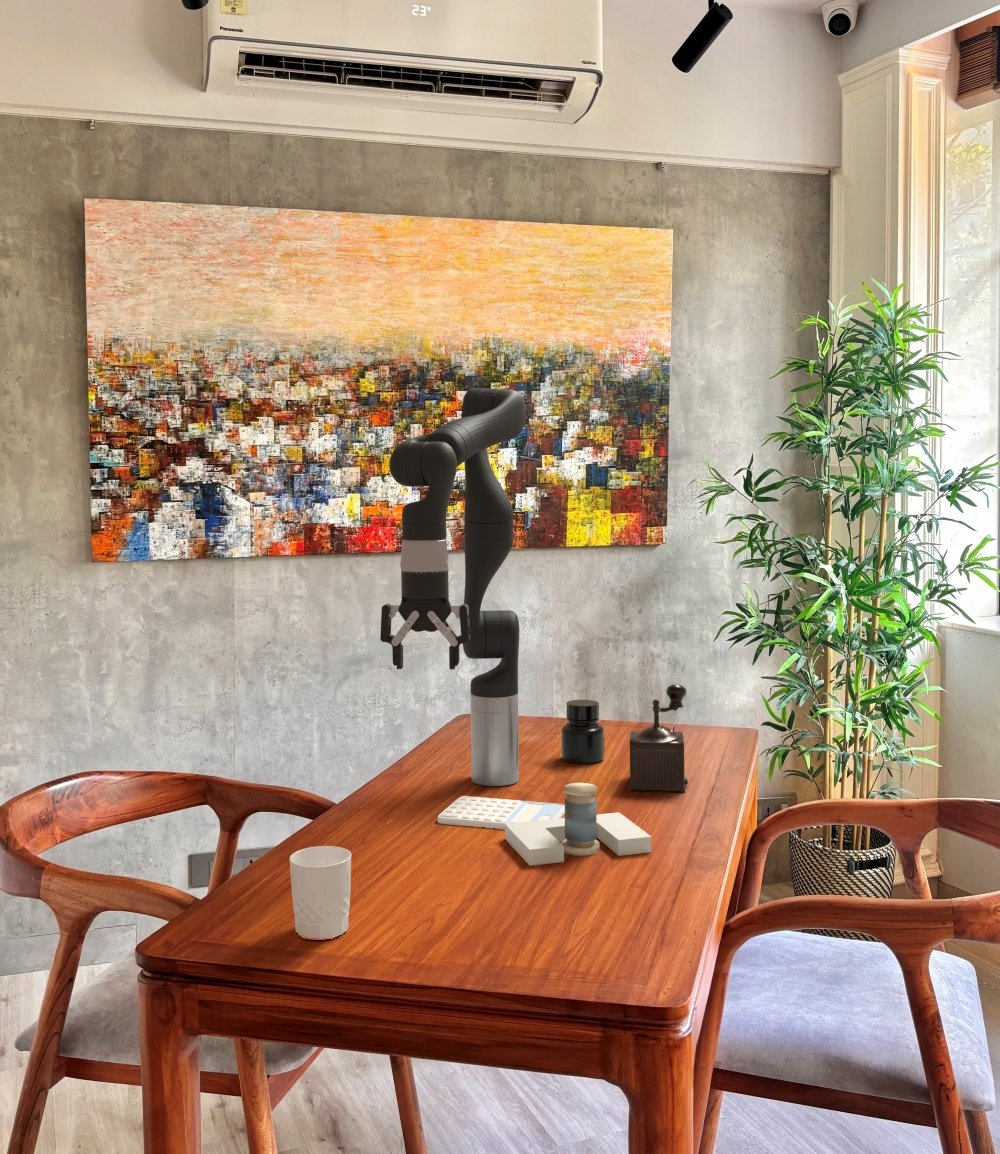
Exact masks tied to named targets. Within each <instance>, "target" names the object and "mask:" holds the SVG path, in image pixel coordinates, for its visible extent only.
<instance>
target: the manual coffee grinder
mask: <svg viewBox="0 0 1000 1154" xmlns="http://www.w3.org/2000/svg"><path fill="white" fill-rule="evenodd" d="M665 691H666V692H665V693H666V695H667V696H668V698H669V700H670V702H669V705H668V707H660V700H659V699H653V701H652V705H653V706H652V712H653V725H652V726H648V727H647V728H644V729H643V730H639V731H638V730H637V731H636V730H634V731H632V730H631V731H630V733H629V734H630V735H629V791H630V792H638V793H639V792H640V793H641V792H642V793H671V794H673V793H675V794H676V793H677V794H678V793H679V794H680V793H681V794H682V793H683V794H685V793H686V787H687V786H688V783H689V782H688V780H689V779H688V778H686V777H685V775H686V774H685V773H686V772H685V771H686V770H685V765H686V764H685V736H684V734H683V731H675V729H676V726H673V728H669V727H667V726H665V725H660V717H659V716H660V713H667V712H670V711H674V712H677V710H679V709H682V708H684V705H683V702H682V701H683V700H684V698H685V697H686V695H687V689H686V688H685V687H684V686H683V685H681V684H671V685H669V686H668V687H667V688H666V690H665Z"/></svg>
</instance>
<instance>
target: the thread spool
mask: <svg viewBox="0 0 1000 1154" xmlns="http://www.w3.org/2000/svg"><path fill="white" fill-rule="evenodd" d="M563 792H564V793H565V794H566V797H565V798H564V805H565V813H564V818H565V838H566V839H565V840H563V841H561V844H562V845H563V846H564V854H565V855H566V854H567V855H571V856H575V857H588V856H592V855H593V856H594V855H596V854H598V853H599V852H600V847H601V846H600V842H599V840H597V838H596V816H597V815H598V814H597V809H598V808H597V807H598V806H597V798H595V795H596V794H597V793H598V787H597V786H596V785H595V784H592V783H586V782H573V783H568V784H565V785H564V786H563Z"/></svg>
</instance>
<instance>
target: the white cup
mask: <svg viewBox="0 0 1000 1154" xmlns="http://www.w3.org/2000/svg"><path fill="white" fill-rule="evenodd" d="M289 870H290V871H289V872H290V881H291V882H290V885H291V886H290V887H291V888H290V889H291V897H292V899H291V900H292V907H293V908H292V909H293V913H294V925H295V927H294V928H295V933H296V932H297V933H299V935H302V936H305V937H308V938H318V939H322V938H331V937H335V936H338V935H341V934H343V933H344V932H345V931H347V930H348V929H349V914H350V912H349V911H350V907H351V903H350V901H351V886H352V885H351V884H352V881H351V880H352V878H351V877H352V852H351V851H350V850H348V849H347V848H343V847H341V846H334V845H318V846H317V845H316V846H311V847H306V848H302V849H299V850H297V851H294V852H293V853H292V854H291V855H290V856H289ZM347 932H348V931H347ZM343 935H344V934H343Z"/></svg>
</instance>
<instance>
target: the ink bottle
mask: <svg viewBox="0 0 1000 1154" xmlns="http://www.w3.org/2000/svg"><path fill="white" fill-rule="evenodd" d="M599 720H600V702H599V701H597V700H592V699H572V700H568V701H566V721H567V722H566V723H565V724H564V725H563V726H562V727H561V732H560V733H561V734H560V735H561V736H560V737H561V744H560V745H561V747H560V748H561V751H560V752H561V759H562V760H563V761H565V762H567V761H568V762H569V763H572V762H573V764H581V763H583V765H585V764H586V765H587V764H595V762H596V763H599V762H601V761H602V760H604V758H605V729H604V727H603V726H602V725H601V724H600V722H598V721H599Z"/></svg>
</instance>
